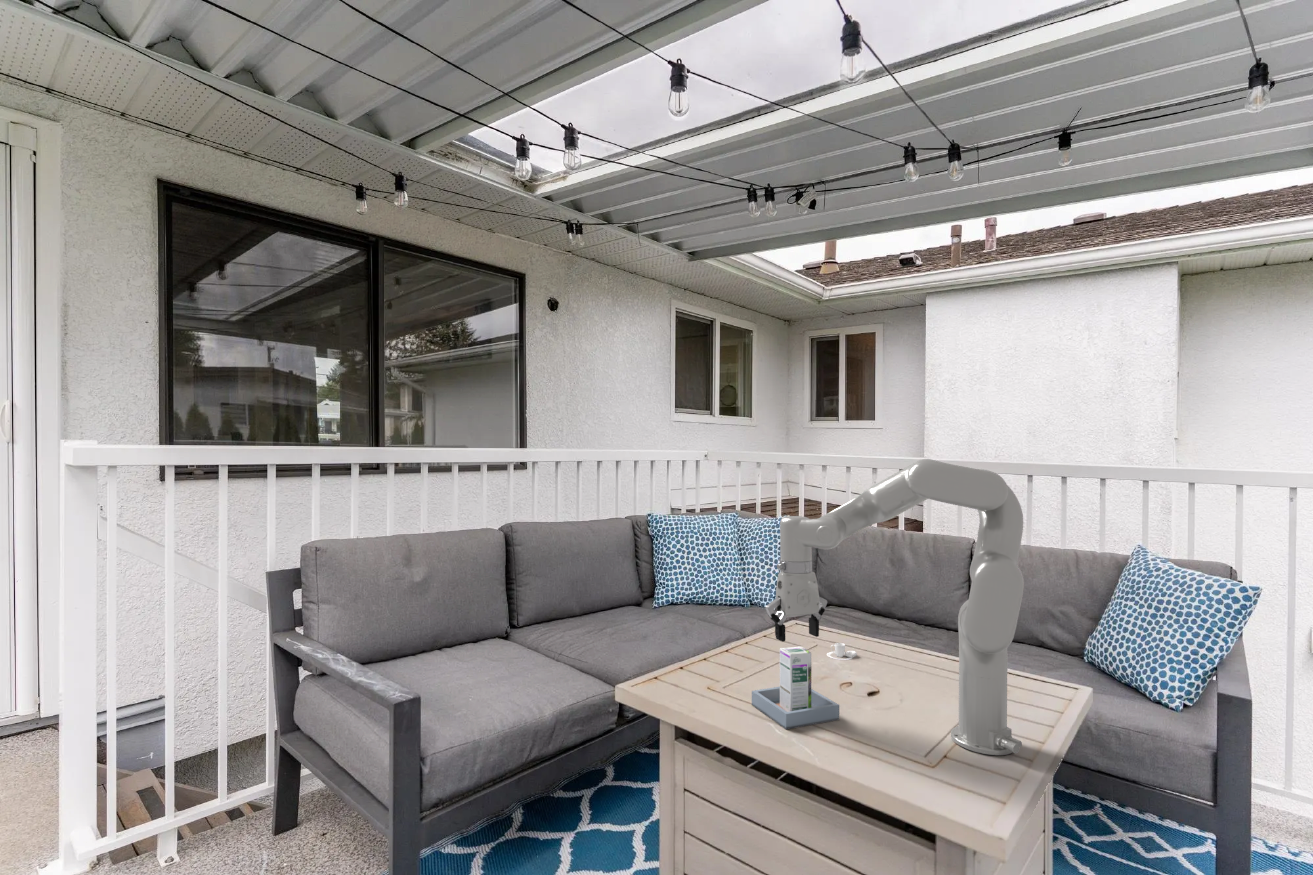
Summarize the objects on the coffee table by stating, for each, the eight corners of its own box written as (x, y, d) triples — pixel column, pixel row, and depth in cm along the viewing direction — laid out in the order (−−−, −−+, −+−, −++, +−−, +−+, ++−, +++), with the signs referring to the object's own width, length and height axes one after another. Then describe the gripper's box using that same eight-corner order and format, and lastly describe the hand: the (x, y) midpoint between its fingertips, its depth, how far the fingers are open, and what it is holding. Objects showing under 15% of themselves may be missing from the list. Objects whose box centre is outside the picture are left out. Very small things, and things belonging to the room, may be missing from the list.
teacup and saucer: (858, 656, 200) (859, 643, 200) (851, 663, 193) (851, 650, 193) (831, 651, 205) (831, 638, 205) (823, 658, 198) (823, 644, 198)
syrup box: (790, 715, 152) (791, 654, 152) (778, 705, 157) (779, 646, 158) (811, 712, 153) (812, 652, 154) (799, 703, 159) (800, 644, 159)
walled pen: (839, 719, 151) (839, 704, 152) (785, 729, 146) (786, 714, 146) (801, 696, 165) (801, 683, 165) (751, 704, 160) (751, 690, 160)
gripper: (774, 572, 149) (775, 646, 149) (834, 566, 156) (836, 637, 155) (757, 567, 156) (758, 638, 156) (816, 562, 163) (817, 629, 162)
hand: (797, 637), depth 156 cm, fingers open, 9 cm apart
